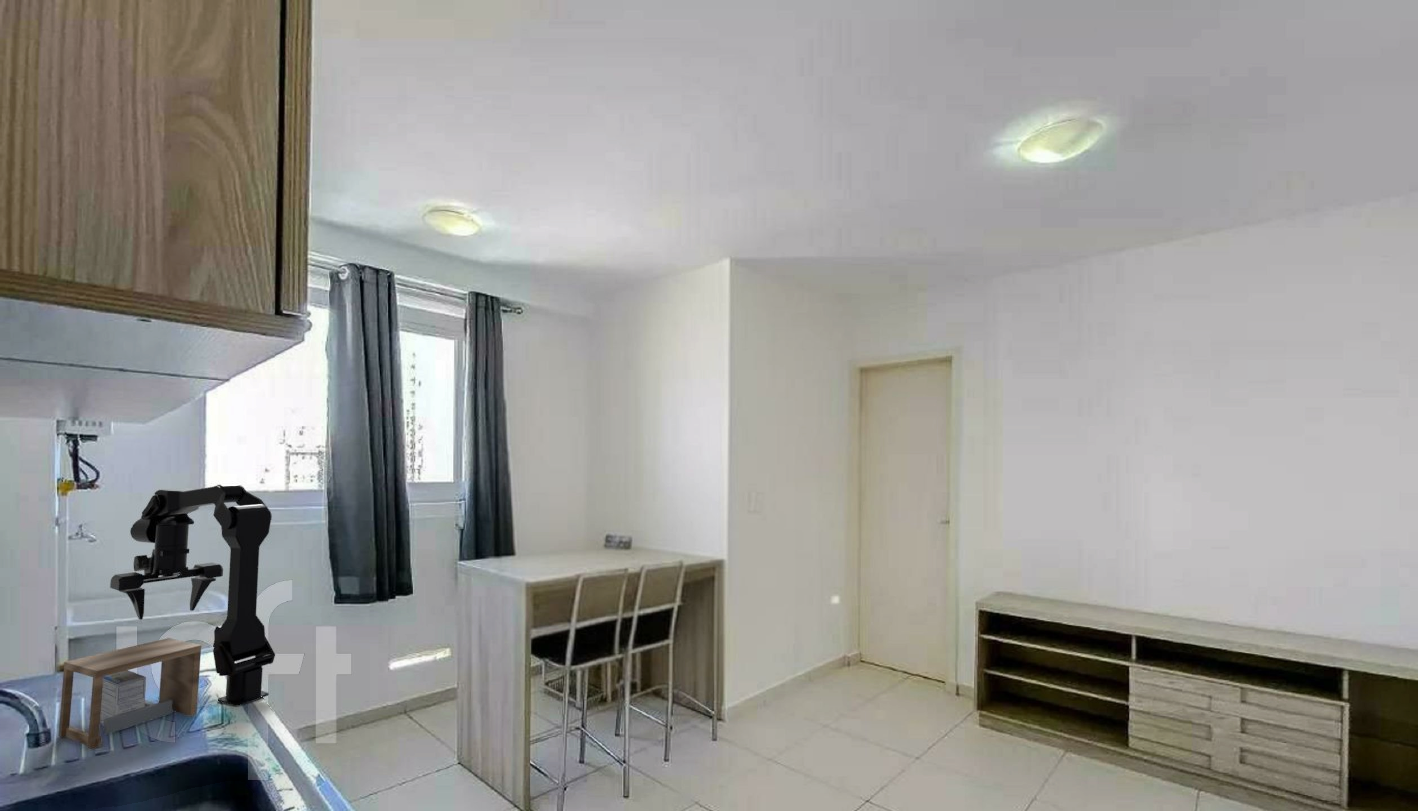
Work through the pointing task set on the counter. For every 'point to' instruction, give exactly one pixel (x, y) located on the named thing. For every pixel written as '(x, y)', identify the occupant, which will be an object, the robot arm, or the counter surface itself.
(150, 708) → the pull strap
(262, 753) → the counter surface
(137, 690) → the medicine box
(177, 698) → the walnut shelf
